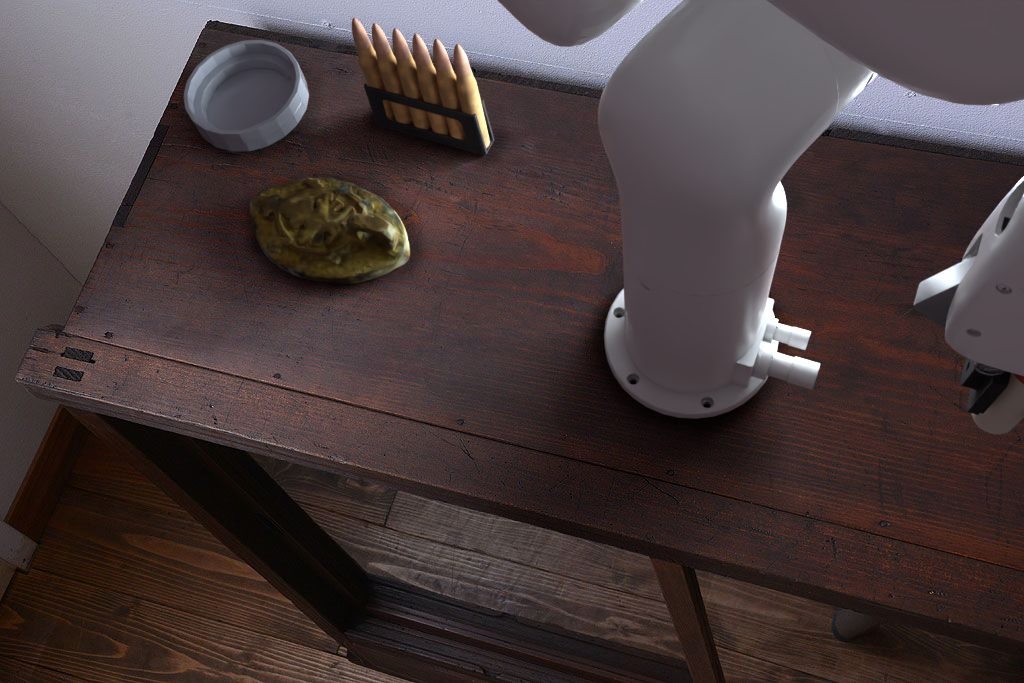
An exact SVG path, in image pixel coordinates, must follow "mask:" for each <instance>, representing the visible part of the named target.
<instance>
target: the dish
mask: <svg viewBox="0 0 1024 683" xmlns="http://www.w3.org/2000/svg"><path fill="white" fill-rule="evenodd" d="M309 98H310V93H309V87H308V81H307V79H306V77H305V75H304V73H303V71H302V69H301V67H300V64H299V62H298V60H297V59H296V58H295V57H294V55H293V54H292V52H290V51H289V50H288V49H286V48H285V47H283V46H282V45H280V44H278V43H276V42H272V41H268V40H264V39H248V40H247V39H246V40H240V41H237V42H233V43H230V44H227V45H224V46H222V47H220V48H219V49H217V50H215V51H213V52H210V53H209V55H207V56H206V57H205V58H204V59H203V60H201V62H199V63H198V64H197V65H196V66H195V67H194V69H193V71H192V72H191V74H190V76H189V77H188V78H187V80H186V84H185V87H184V92H183V102H184V103H183V104H184V110H185V112H186V113H187V115H188V117H189V118H190V120H191V121H192V123H193V124H194V126H195V127H196V129H197V131H198V132H199V134H200V136H201V137H202V138H203V139H204V140H205V141H206V142H208V143H209V144H210V145H212V146H213V147H215V148H216V149H217V148H218V149H221V150H224V151H228V152H232V153H233V152H252V151H256V150H260V149H264V148H267V147H269V146H271V145H274V144H275V143H277V142H279V141H280V140H282V139H285V137H286V136H287V135H288V134H289V133H291V132H292V131H293V130H294V129H295V128H296V127H297V126H298V125H299V123H300V122H301V120H302V118H303V116H305V115H304V114H305V113H306V111H307V109H308V103H309Z"/></svg>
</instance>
